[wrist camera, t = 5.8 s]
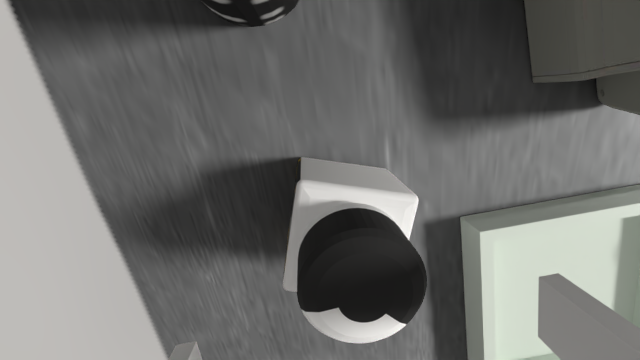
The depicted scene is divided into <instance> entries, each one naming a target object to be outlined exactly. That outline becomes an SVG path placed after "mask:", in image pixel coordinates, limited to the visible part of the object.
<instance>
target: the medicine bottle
mask: <svg viewBox="0 0 640 360" xmlns="http://www.w3.org/2000/svg"><path fill="white" fill-rule="evenodd" d="M417 206H418V197H417V196H416V195H415V194H414V193H413V192H412V191H411V190H410V189H409V188H408V187H406V186H405V185H404V184H403V183H402V182H401V181H400V180H399V179H398V178H396V177H395V176H394V175H393V174H392V173H391V172H390V171H389V170H387V169H385V168H378V167H371V166H363V165H356V164H349V163H342V162H335V161H328V160H320V159H313V158H306V157H301V158H300V159H299V160H298V165H297V172H296V179H295V187H294V194H293V201H292V208H291V216H290V223H289V230H288V238H287V247H286V257H285V267H284V277H283V287H284V289H285V290H287V291H294V292H297V296H298V302H299V305H300V308H301V310H302V312H303V314H304V316H305V317H306V318H307V320H308V321H309V322H310V323H311V324H312V325H313V326H314V327H315V328H316V329H317V330H319V331H320V332H322V333H323V334H325V335H327V336H329V337H332V338H334V339H337V340H340V341H344V342H349V343H368V342H374V341H378V340H381V339H384V338H387V337H389V336H391V335H393V334H394V333H396V332H397V331H399V330H401V329H402V328H403V327H404V326H405V325H406V324H407V323H408V322H409V321H410V320H411V319H412V318H413V316H414V315H415V314H416V312H417V311H418V309H419V308H420V306H421V304H422V302H423V299H424V296H425V292H426V287H427V276H426V270H425V266H424V263H423V261H422V259H421V257H420V255H419V254H418V252H417V251H416V249H415V248H414V247H413V245H412V244H411V243H410V241H409V238H410V234H411V230H412V226H413V222H414V218H415V214H416V210H417Z"/></svg>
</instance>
